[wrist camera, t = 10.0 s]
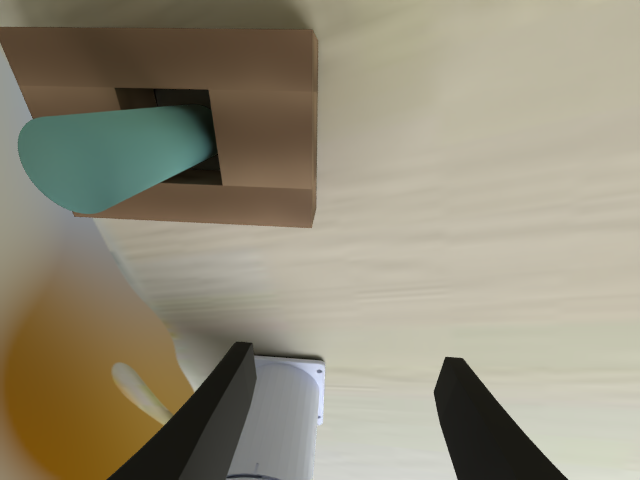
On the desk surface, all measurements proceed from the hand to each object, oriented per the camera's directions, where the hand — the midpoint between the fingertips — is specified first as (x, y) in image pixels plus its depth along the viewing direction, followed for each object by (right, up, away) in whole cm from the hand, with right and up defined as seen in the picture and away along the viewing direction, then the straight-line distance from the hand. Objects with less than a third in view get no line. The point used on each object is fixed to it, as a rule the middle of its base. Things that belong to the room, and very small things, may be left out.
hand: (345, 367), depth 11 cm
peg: (-8, +11, +6) cm, 15 cm away
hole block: (-8, +11, +6) cm, 15 cm away
